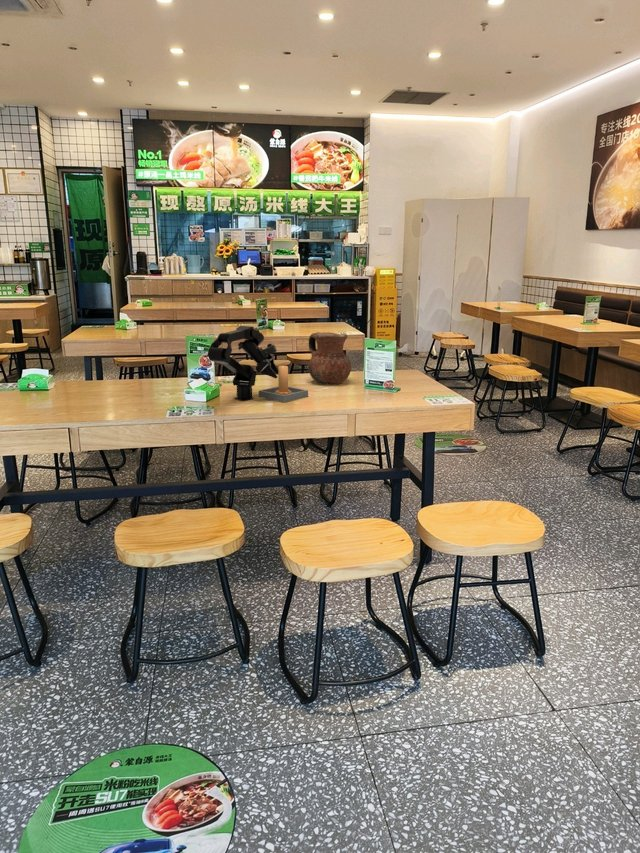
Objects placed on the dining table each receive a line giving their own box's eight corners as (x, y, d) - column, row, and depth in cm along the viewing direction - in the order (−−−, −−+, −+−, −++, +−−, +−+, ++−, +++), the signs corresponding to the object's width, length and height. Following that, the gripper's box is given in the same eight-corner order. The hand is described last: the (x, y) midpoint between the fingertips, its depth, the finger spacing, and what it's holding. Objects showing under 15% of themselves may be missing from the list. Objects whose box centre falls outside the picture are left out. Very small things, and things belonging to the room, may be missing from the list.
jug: (351, 378, 329) (352, 331, 322) (351, 387, 309) (352, 336, 302) (309, 378, 330) (309, 330, 323) (306, 386, 309) (306, 335, 303)
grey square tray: (283, 402, 275) (283, 395, 274) (258, 397, 285) (258, 390, 284) (308, 396, 287) (308, 390, 286) (283, 391, 297) (283, 385, 296)
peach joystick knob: (284, 397, 281) (284, 368, 277) (272, 394, 285) (271, 366, 281) (294, 394, 287) (294, 366, 283) (282, 392, 291) (282, 364, 287)
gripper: (262, 341, 270) (288, 367, 272) (268, 335, 287) (292, 359, 290) (245, 359, 272) (270, 384, 275) (252, 352, 290) (276, 376, 293)
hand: (278, 375), depth 283 cm, fingers open, 9 cm apart
